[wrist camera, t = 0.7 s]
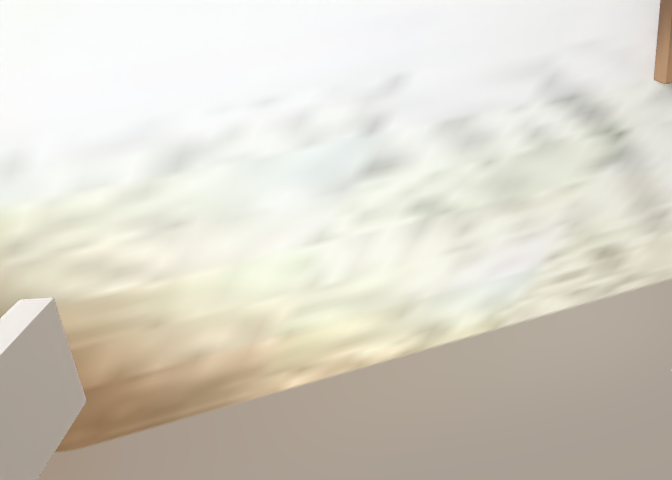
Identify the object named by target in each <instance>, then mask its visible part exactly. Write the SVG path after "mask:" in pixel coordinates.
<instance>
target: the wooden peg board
mask: <svg viewBox="0 0 672 480" xmlns="http://www.w3.org/2000/svg"><path fill="white" fill-rule="evenodd" d="M654 80H656V81H658V82H661V83H664V84H671V83H672V0H661V2H660V14H659V26H658V37H657V49H656V61H655V73H654Z"/></svg>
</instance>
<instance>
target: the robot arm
mask: <svg viewBox="0 0 672 480" xmlns="http://www.w3.org/2000/svg"><path fill="white" fill-rule="evenodd" d="M85 403H86V398H85V394H84V391H83V388H82V385H81V382H80V379H79V375H78V372H77V369H76V366H75V363H74V360H73V357H72V353H71V350H70V347H69V344H68V341H67V338H66V334H65V331H64V328H63V325H62V322H61V319H60V315H59V312H58V309H57V306H56V303H55V300H54V298H38V299H23V300H19V301H18V302H17V303H16V304H15V305H14V306H13V307H12V308H11V309H10V310H8V311H7V312H6V313H5V314H4V315H3V316H2V317H1V318H0V480H37V479H38V477H39V476H40V474H41V472H42V471H43V469H44V468H45V466H46V465H47V463H48V461H49V460H50V458H51V457H52V455H53V454H54V452H55V450H56V449H57V447H58V446H59V444H60V442H61V441H62V439H63V438H64V436H65V435H66V433H67V431H68V430H69V428H70V427H71V425H72V424H73V422H74V420H75V419H76V417H77V416H78V414H79V412H80V411H81V409H82V408H83V406H84V405H85Z"/></svg>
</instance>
